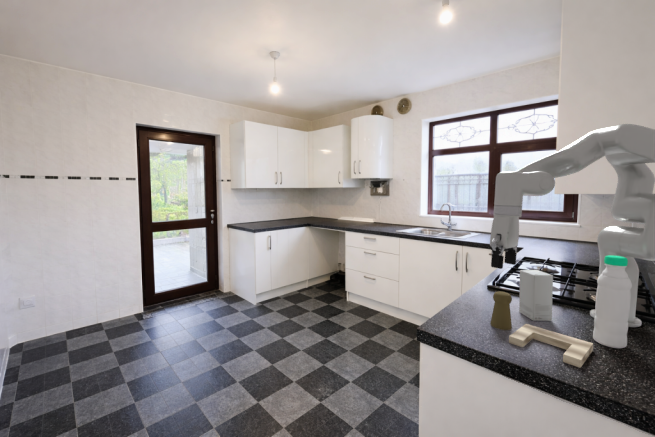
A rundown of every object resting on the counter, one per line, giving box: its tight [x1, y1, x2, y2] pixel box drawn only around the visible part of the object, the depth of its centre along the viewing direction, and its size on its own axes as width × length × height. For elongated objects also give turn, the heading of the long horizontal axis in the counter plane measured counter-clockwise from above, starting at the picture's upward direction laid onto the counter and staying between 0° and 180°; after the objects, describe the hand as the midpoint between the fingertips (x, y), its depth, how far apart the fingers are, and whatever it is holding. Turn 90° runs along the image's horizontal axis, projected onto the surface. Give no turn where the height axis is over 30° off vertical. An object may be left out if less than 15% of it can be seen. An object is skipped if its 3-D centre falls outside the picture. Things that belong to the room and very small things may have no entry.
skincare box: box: [518, 269, 554, 322], centre depth 104 cm, size 8×7×16 cm
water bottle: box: [592, 255, 632, 349], centre depth 85 cm, size 7×7×25 cm
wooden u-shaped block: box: [508, 323, 594, 368], centre depth 84 cm, size 13×16×2 cm
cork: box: [489, 290, 513, 331], centre depth 97 cm, size 6×6×11 cm
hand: (503, 265), depth 96 cm, fingers open, 9 cm apart
